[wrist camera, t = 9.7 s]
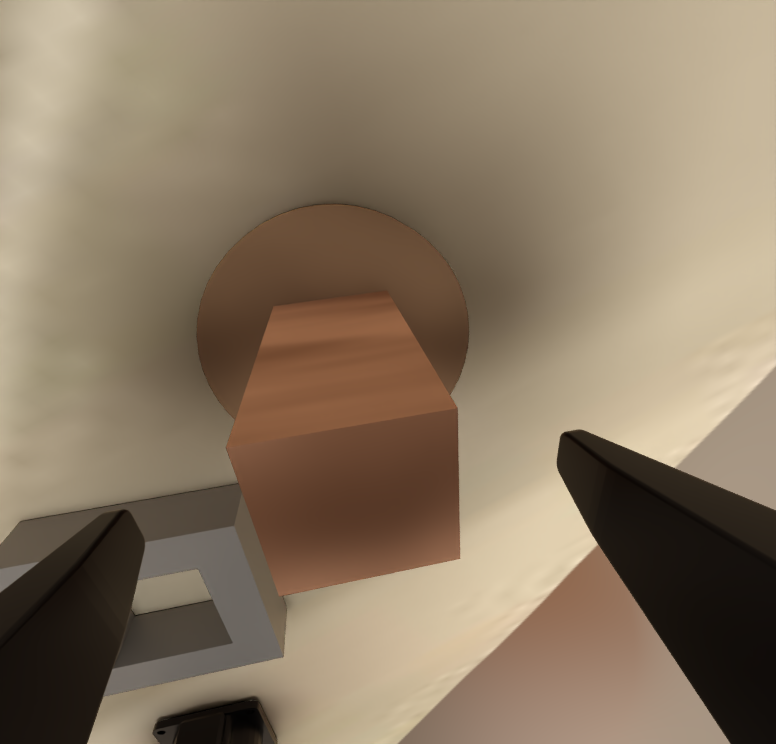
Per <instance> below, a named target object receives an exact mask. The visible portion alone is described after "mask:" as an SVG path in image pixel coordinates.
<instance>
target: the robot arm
mask: <svg viewBox="0 0 776 744" xmlns="http://www.w3.org/2000/svg"><path fill="white" fill-rule="evenodd" d="M557 468H558V471H559V473H560V475H561V477H562V479H563V481H564V483H565V485H566V487H567V489H568V491H569V492H570V494H571V496H572V498H573V500H574V502H575V504H576V506H577V508H578V509H579V511H580V513H581V515H582V517H583V519H584V521H585V523H586V525H587V526H588V528H589V530H590V532H591V533H592V535H593V537H594V538H595V540H596V541H597V543H598V545H599V546H600V548H601V549H602V551H603V552H604V554H605V555H606V557H607V558H608V560H609V561H610V563H611V564H612V566H613V567H614V569H615V570H616V572H617V573H618V575H619V576H620V578H621V579H622V581H623V582H624V584H625V585H626V587H627V588H628V590H629V591H630V593H631V594H632V596H633V597H634V599H635V600H636V602H637V603H638V605H639V606H640V608H641V609H642V611H643V612H644V614H645V616H646V617H647V619H648V620H649V622H650V623H651V625H652V626H653V628H654V629H655V631H656V632H657V634H658V635H659V637H660V638H661V640H662V641H663V643H664V644H665V646H666V647H667V649H668V650H669V652H670V653H671V655H672V656H673V658H674V659H675V661H676V662H677V664H678V665H679V667H680V668H681V670H682V671H683V673H684V674H685V676H686V677H687V679H688V680H689V682H690V683H691V685H692V686H693V688H694V689H695V691H696V692H697V694H698V695H699V697H700V698H701V700H702V701H703V703H704V704H705V706H706V707H707V709H708V710H709V712H710V713H711V715H712V716H713V718H714V719H715V721H716V723H717V724H718V726H719V727H720V729H721V730H722V732H723V733H724V735H725V736H726V738H727V739H728V741H729V742H730V744H776V510H774V509H771V508H769V507H766V506H764V505H762V504H759V503H757V502H754V501H752V500H749V499H747V498H745V497H742V496H740V495H738V494H735V493H733V492H730V491H728V490H725V489H723V488H721V487H718V486H716V485H713V484H711V483H708V482H706V481H704V480H702V479H699V478H697V477H694V476H692V475H689V474H687V473H685V472H682V471H680V470H678V469H675V468H673V467H670V466H668V465H666V464H663V463H661V462H658V461H656V460H654V459H651V458H649V457H646V456H644V455H642V454H639V453H637V452H634V451H632V450H630V449H627V448H625V447H622V446H620V445H618V444H615V443H613V442H610V441H608V440H606V439H603V438H601V437H598V436H596V435H594V434H591V433H589V432H587V431H584V430H573V431H567V432H564V433H562V435H561V436H560V441H559V448H558V455H557ZM144 551H145V539H144V536H143V534H142V532H141V530H140V528H139V526H138V525H137V523H136V521H135V519H134V517H133V515H132V514H131V512H130V511H129V510H127V509H119V510H113V511H108V512H104V513H102V514H100V515H99V516H98V517H96V518H95V519H94V520H93V521H91V522H90V523H89V524H87V525H86V526H85V527H84V528H82V529H81V530H80V531H78V532H77V533H76V534H75V535H73V536H72V537H71V538H69V539H68V540H67V541H66V542H64V543H63V544H62V545H60V546H59V547H58V548H57V549H55V550H54V551H53V552H51V553H50V554H49V555H48V556H46V557H45V558H44V559H43V560H41V561H40V562H39V563H37V564H36V565H35V566H34V567H32V568H31V569H30V570H28V571H27V572H26V573H25V574H23V575H22V576H21V577H19V578H18V579H17V580H16V581H14V582H13V583H12V584H10V585H9V586H8V587H7V588H5V589H4V590H3V591H1V592H0V744H87V742H88V739H89V737H90V734H91V731H92V728H93V725H94V722H95V719H96V716H97V713H98V710H99V707H100V704H101V701H102V698H103V696H104V693H105V690H106V687H107V684H108V681H109V678H110V675H111V672H112V669H113V666H114V663H115V660H116V657H117V655H118V652H119V649H120V646H121V643H122V640H123V636H124V633H125V630H126V627H127V623H128V619H129V615H130V611H131V607H132V602H133V598H134V594H135V589H136V585H137V581H138V577H139V572H140V568H141V564H142V559H143V555H144ZM153 735H154V736H155V738H156V739H157V740H158V742H159V743H160V744H277V739H276V737H275V735H274V733H273V731H272V729H271V726H270V724H269V722H268V720H267V718H266V716H265V714H264V712H263V710H262V707H261V705H260V703H259V702H258V701H255V700H251V701H246V702H242V703H237V704H233V705H229V706H224V707H220V708H215V709H211V710H207V711H202V712H198V713H194V714H189V715H185V716H180V717H176V718H172V719H167V720H163V721H159V722H157V723H156V724H155V726H154V730H153Z"/></svg>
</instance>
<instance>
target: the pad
mask: <svg viewBox="0 0 776 744" xmlns="http://www.w3.org/2000/svg"><path fill="white" fill-rule="evenodd" d="M380 291H388V293H389V295H390V296H391V298H392V300H393V301H394V303H395V305H396V306H397V308H398V310H399V311H400V313H401V315H402V316H403V318H404V320H405V321H406V323H407V325H408V326H409V328H410V330H411V331H412V333H413V335H414V336H415V338H416V340H417V341H418V343H419V345H420V346H421V348H422V350H423V351H424V353H425V355H426V356H427V358H428V360H429V361H430V363H431V365H432V366H433V368H434V370H435V371H436V373H437V375H438V376H439V378H440V380H441V381H442V383H443V385H444V386H445V388H446V390H447V391H448V393H449V395H450V394H451V393H452V391H453V389H454V387H455V385H456V383H457V381H458V379H459V377H460V374H461V372H462V369H463V366H464V363H465V359H466V354H467V349H468V339H469V323H468V313H467V308H466V303H465V299H464V296H463V293H462V291H461V288H460V285H459V283H458V281H457V279H456V277H455V275H454V273H453V271H452V269H451V268H450V266H449V265H448V264H447V262H446V261H445V259H444V258H443V257H442V255H441V254H440V253H439V252H438V251H437V250H436V249H435V248H434V247H433V246H432V245H431V244H430V243H429V242H428V241H427V240H426V239H425V238H423V237H422V236H421V235H419V234H418V233H417V232H416V231H414V230H413V229H411V228H409V227H408V226H406V225H404V224H403V223H401V222H399V221H397V220H396V219H394V218H392V217H390V216H387V215H385V214H382V213H380V212H377V211H375V210H371V209H367V208H363V207H359V206H353V205H344V204H319V205H313V206H307V207H301V208H297V209H294V210H291V211H288V212H285V213H282V214H280V215H278V216H276V217H274V218H272V219H270V220H268V221H266V222H264V223H262V224H261V225H259V226H258V227H256V228H255V229H254V230H252V231H251V232H249V233H248V234H247V235H245V236H244V237H243V238H242V239H241V240H240V241H239V242H238V243H237V244H236V245H235V246H234V247H233V248H231V249H230V250H229V251H228V253H227V254H226V255H225V256H224V258H223V259H222V260H221V262H220V263H219V264H218V266H217V267H216V269H215V270H214V272H213V274H212V276H211V278H210V280H209V281H208V283H207V286H206V288H205V291H204V294H203V297H202V299H201V303H200V308H199V313H198V318H197V344H198V353H199V357H200V361H201V365H202V369H203V372H204V374H205V376H206V379H207V381H208V383H209V386H210V387H211V389H212V391H213V392H214V394H215V396H216V397H217V399H218V401H219V402H220V403H221V404H222V406H223V407H224V408H225V409H226V411H227V412H228V413H229V414H230V415H231V416H232V417H233V418H234V419H235V420H236V417H237V414H238V411H239V408H240V405H241V402H242V399H243V396H244V393H245V390H246V387H247V384H248V381H249V378H250V375H251V372H252V369H253V366H254V363H255V360H256V357H257V354H258V351H259V348H260V345H261V342H262V339H263V336H264V333H265V330H266V327H267V324H268V321H269V318H270V315H271V312H272V309H273V306H279V305H287V304H294V303H301V302H308V301H315V300H323V299H330V298H337V297H344V296H352V295H359V294H366V293H373V292H380Z"/></svg>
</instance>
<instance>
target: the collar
mask: <svg viewBox="0 0 776 744" xmlns="http://www.w3.org/2000/svg"><path fill="white" fill-rule="evenodd" d="M119 509H127V510H129V511H130V512H131V514H132V515H133V517H134V519H135V521H136V523H137V525H138V526H139V528H140V530H141V532H142V534H143V536H144V539H145V551H144V555H143V559H142V564H141V568H140V572H139V577H138V580H142V579H147V578H152V577H157V576H162V575H167V574H173V573H178V572H183V571H188V570H193V569H198V570H199V572H200V574H201V576H202V578H203V581H204V583H205V585H206V587H207V589H208V591H209V593H210V595H211V598H212V601H207V602H202V603H197V604H193V605H188V606H183V607H178V608H173V609H168V610H163V611H158V612H153V613H148V614H143V615H138V616H134V614H133V612H132V611H130V615H129V619H128V623H127V627H126V630H125V633H124V636H123V640H122V643H121V646H120V649H119V652H118V655H117V657H116V660H115V663H114V666H113V669H112V672H111V675H110V678H109V681H108V684H107V687H106V690H105V693H104V696H108V695H113V694H117V693H122V692H127V691H131V690H136V689H140V688H145V687H149V686H154V685H158V684H163V683H168V682H172V681H177V680H181V679H186V678H190V677H195V676H199V675H204V674H208V673H213V672H218V671H222V670H227V669H231V668H236V667H240V666H245V665H249V664H254V663H259V662H263V661H268V660H272V659H277V658H281V657H284V644H285V630H286V616H287V608H286V605H285V602H284V599H283V596H280V597H279V595H278V592H277V589H276V586H275V583H274V581H273V578H272V575H271V572H270V569H269V567H268V564H267V561H266V558H265V555H264V553H263V550H262V547H261V544H260V541H259V539H258V536H257V533H256V530H255V527H254V525H253V522H252V519H251V516H250V513H249V511H248V508H247V505H246V502H245V499H244V497H243V494H242V491H241V488H240V485H239V484H234V485H229V486H223V487H217V488H211V489H206V490H200V491H194V492H188V493H183V494H177V495H171V496H165V497H160V498H154V499H148V500H142V501H137V502H131V503H125V504H119V505H114V506H108V507H102V508H96V509H91V510H85V511H79V512H73V513H68V514H62V515H56V516H50V517H45V518H39V519H33V520H27V521H22V522H19V524H18V525H17V526H16V527H15V528H14V529H13V531H12V532H11V533H10V534H9V535H8V536H7V538H6V539H5V540H4V541H3V542H2V543H1V545H0V592H1V591H3V590H4V589H5V588H7V587H8V586H9V585H10V584H12V583H13V582H14V581H16V580H17V579H18V578H19V577H21V576H22V575H23V574H25V573H26V572H27V571H28V570H30V569H31V568H32V567H34V566H35V565H36V564H37V563H39V562H40V561H41V560H43V559H44V558H45V557H46V556H48V555H49V554H50V553H51V552H53V551H54V550H55V549H57V548H58V547H59V546H60V545H62V544H63V543H64V542H66V541H67V540H68V539H69V538H71V537H72V536H73V535H75V534H76V533H77V532H78V531H80V530H81V529H82V528H84V527H85V526H86V525H87V524H89V523H90V522H91V521H93V520H94V519H95V518H96V517H98V516H99V515H100V514H102V513H104V512H108V511H113V510H119ZM104 696H103V697H104Z"/></svg>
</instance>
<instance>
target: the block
mask: <svg viewBox="0 0 776 744" xmlns="http://www.w3.org/2000/svg"><path fill="white" fill-rule="evenodd" d="M226 449H227V452H228V455H229V458H230V460H231V463H232V466H233V469H234V472H235V474H236V477H237V480H238V483H239V485H240V488H241V491H242V494H243V497H244V499H245V502H246V505H247V508H248V511H249V513H250V516H251V519H252V522H253V525H254V527H255V530H256V533H257V536H258V539H259V541H260V544H261V547H262V550H263V553H264V555H265V558H266V561H267V564H268V567H269V569H270V572H271V575H272V578H273V581H274V583H275V586H276V589H277V592H278V595H279V597H280V596H285V595H289V594H294V593H299V592H304V591H309V590H313V589H318V588H323V587H328V586H332V585H337V584H342V583H347V582H351V581H356V580H361V579H366V578H371V577H375V576H380V575H385V574H390V573H394V572H399V571H404V570H409V569H413V568H418V567H423V566H428V565H433V564H437V563H442V562H447V561H452V560H456V559H460V524H459V464H458V408H457V406H456V405H455V403H454V401H453V400H452V398H451V396H450V395H449V393H448V391H447V390H446V388H445V386H444V385H443V383H442V381H441V380H440V378H439V376H438V375H437V373H436V371H435V370H434V368H433V366H432V365H431V363H430V361H429V360H428V358H427V356H426V355H425V353H424V351H423V350H422V348H421V346H420V345H419V343H418V341H417V340H416V338H415V336H414V335H413V333H412V331H411V330H410V328H409V326H408V325H407V323H406V321H405V320H404V318H403V316H402V315H401V313H400V311H399V310H398V308H397V306H396V305H395V303H394V301H393V300H392V298H391V296H390V295H389V293H388V291H380V292H373V293H366V294H359V295H352V296H344V297H337V298H330V299H323V300H315V301H308V302H301V303H294V304H287V305H279V306H273V309H272V312H271V315H270V318H269V321H268V324H267V327H266V330H265V333H264V336H263V339H262V342H261V345H260V348H259V351H258V354H257V357H256V360H255V363H254V366H253V369H252V372H251V375H250V378H249V381H248V384H247V387H246V390H245V393H244V396H243V399H242V402H241V405H240V408H239V411H238V414H237V417H236V420H235V422H234V425H233V428H232V431H231V434H230V437H229V440H228V443H227V446H226Z"/></svg>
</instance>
